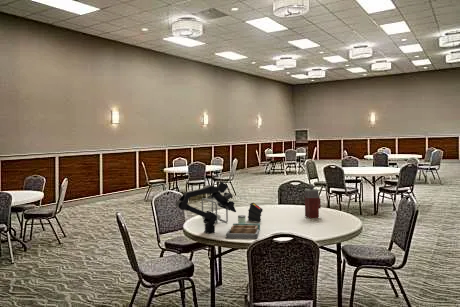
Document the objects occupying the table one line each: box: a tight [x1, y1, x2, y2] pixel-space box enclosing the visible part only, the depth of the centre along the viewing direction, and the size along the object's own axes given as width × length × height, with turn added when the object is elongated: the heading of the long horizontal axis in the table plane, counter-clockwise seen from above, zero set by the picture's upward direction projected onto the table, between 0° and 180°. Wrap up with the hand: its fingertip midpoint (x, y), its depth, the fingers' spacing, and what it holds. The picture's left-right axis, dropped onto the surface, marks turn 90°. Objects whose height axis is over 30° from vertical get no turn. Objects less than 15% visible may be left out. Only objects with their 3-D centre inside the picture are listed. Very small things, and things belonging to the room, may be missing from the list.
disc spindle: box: [237, 214, 247, 224], centre depth 303 cm, size 6×6×9 cm
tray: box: [230, 222, 261, 234], centre depth 288 cm, size 20×16×4 cm
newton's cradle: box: [201, 197, 229, 225], centre depth 332 cm, size 30×10×18 cm, turn 26°
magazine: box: [247, 202, 264, 223], centre depth 325 cm, size 4×13×15 cm, turn 47°
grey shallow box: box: [225, 228, 260, 240], centre depth 277 cm, size 21×14×3 cm, turn 80°
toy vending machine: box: [304, 183, 322, 219], centre depth 337 cm, size 9×11×28 cm
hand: (232, 210), depth 300 cm, fingers open, 9 cm apart
